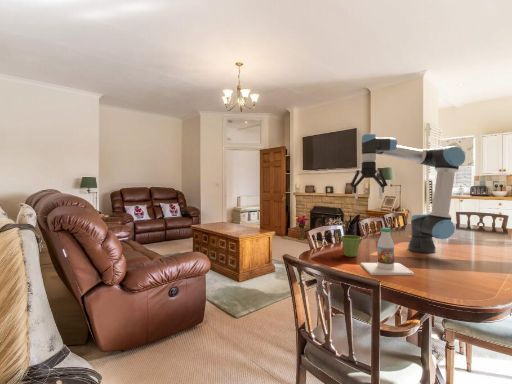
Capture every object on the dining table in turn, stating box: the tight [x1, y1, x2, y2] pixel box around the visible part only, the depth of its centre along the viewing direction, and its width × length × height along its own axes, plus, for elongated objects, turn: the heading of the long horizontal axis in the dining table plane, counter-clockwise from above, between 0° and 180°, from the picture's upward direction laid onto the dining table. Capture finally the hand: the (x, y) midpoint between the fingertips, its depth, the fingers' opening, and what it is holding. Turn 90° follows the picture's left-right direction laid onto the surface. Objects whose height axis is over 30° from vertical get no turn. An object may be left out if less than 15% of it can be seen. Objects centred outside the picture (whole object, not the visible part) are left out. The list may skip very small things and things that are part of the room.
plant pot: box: [340, 234, 362, 258], centre depth 170 cm, size 12×12×11 cm
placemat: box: [360, 262, 415, 276], centre depth 142 cm, size 20×16×1 cm
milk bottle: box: [376, 227, 395, 269], centre depth 142 cm, size 8×8×20 cm
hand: (368, 198), depth 161 cm, fingers open, 13 cm apart
